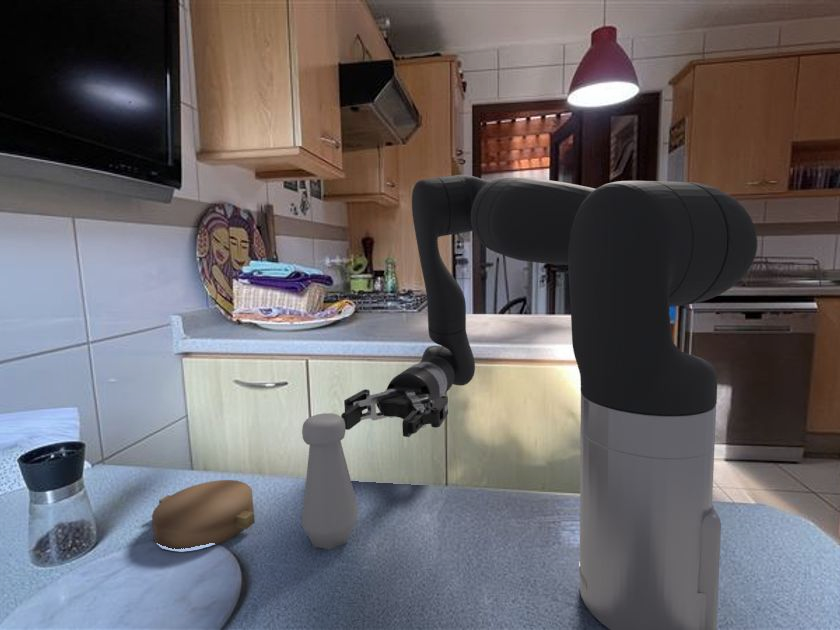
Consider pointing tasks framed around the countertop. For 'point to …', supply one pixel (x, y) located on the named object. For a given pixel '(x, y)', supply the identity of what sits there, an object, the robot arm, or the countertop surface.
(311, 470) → the salt shaker
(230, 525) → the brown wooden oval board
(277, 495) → the countertop surface
